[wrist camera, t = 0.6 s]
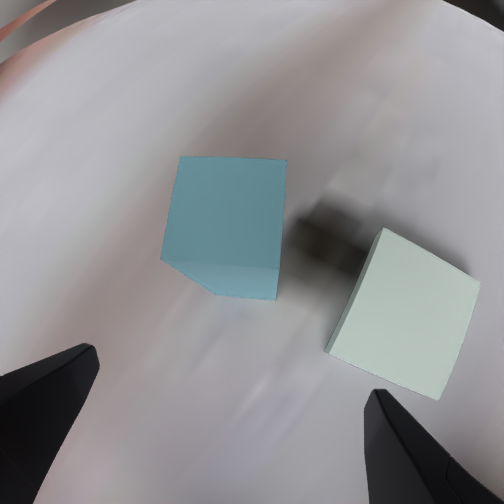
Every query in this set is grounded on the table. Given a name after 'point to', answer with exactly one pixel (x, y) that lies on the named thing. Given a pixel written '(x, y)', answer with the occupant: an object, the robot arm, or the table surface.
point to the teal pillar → (227, 224)
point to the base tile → (406, 316)
